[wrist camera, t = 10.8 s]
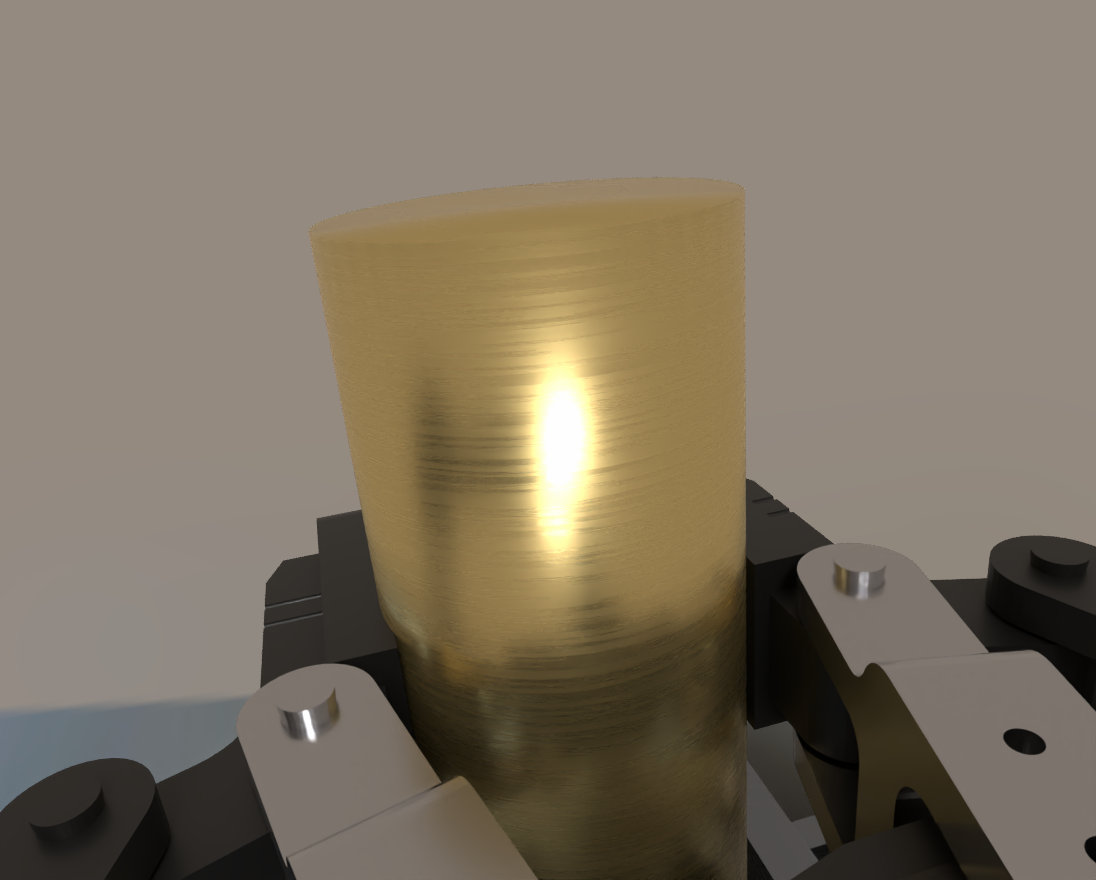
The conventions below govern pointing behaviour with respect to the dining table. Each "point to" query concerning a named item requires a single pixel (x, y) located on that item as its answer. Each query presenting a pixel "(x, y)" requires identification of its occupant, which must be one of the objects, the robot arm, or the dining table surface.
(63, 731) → the dining table surface
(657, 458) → the brass pin
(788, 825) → the ball bearing track
